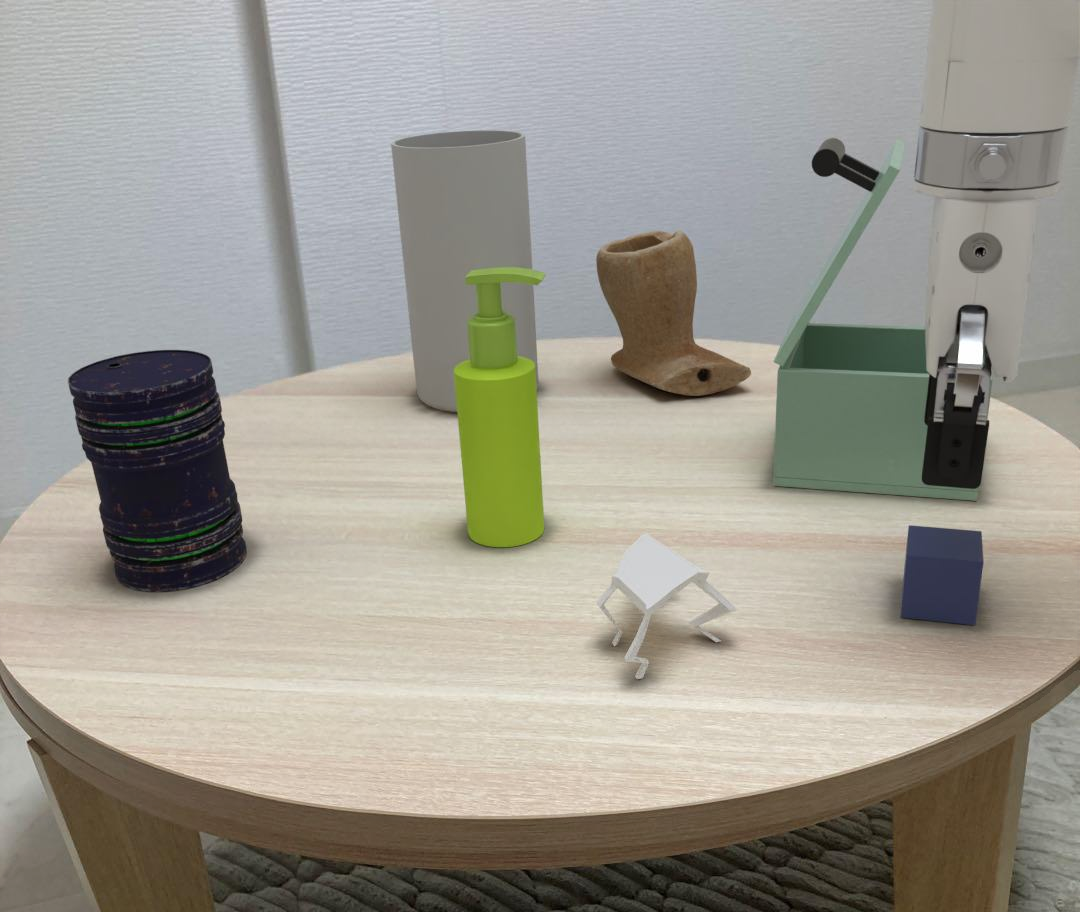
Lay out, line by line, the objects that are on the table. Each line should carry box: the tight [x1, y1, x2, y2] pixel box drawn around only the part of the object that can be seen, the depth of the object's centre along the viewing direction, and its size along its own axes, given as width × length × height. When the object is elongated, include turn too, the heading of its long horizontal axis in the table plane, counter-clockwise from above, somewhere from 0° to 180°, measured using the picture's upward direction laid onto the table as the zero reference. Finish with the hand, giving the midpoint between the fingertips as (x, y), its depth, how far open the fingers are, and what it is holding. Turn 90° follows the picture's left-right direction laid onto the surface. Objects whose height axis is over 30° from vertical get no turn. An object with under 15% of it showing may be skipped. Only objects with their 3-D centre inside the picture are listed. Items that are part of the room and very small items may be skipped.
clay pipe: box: [595, 230, 752, 397], centre depth 114 cm, size 15×12×15 cm
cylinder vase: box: [390, 129, 540, 413], centre depth 112 cm, size 12×12×25 cm
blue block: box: [900, 524, 984, 626], centre depth 73 cm, size 4×4×4 cm
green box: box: [772, 322, 993, 502], centre depth 94 cm, size 16×14×10 cm
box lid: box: [773, 137, 906, 367], centre depth 90 cm, size 16×14×6 cm
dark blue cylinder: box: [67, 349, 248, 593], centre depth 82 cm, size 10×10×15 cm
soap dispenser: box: [454, 267, 547, 548], centre depth 83 cm, size 6×7×20 cm
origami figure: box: [596, 531, 739, 680], centre depth 72 cm, size 12×8×5 cm
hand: (949, 453), depth 69 cm, fingers open, 9 cm apart
